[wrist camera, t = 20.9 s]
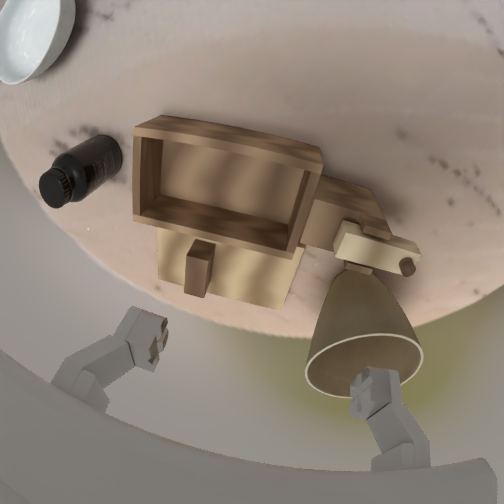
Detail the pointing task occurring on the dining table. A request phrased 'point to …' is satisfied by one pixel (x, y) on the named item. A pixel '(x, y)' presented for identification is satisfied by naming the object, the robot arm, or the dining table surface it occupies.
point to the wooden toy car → (376, 250)
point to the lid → (225, 269)
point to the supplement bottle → (80, 171)
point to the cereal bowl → (32, 36)
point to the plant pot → (360, 335)
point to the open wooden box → (244, 189)
